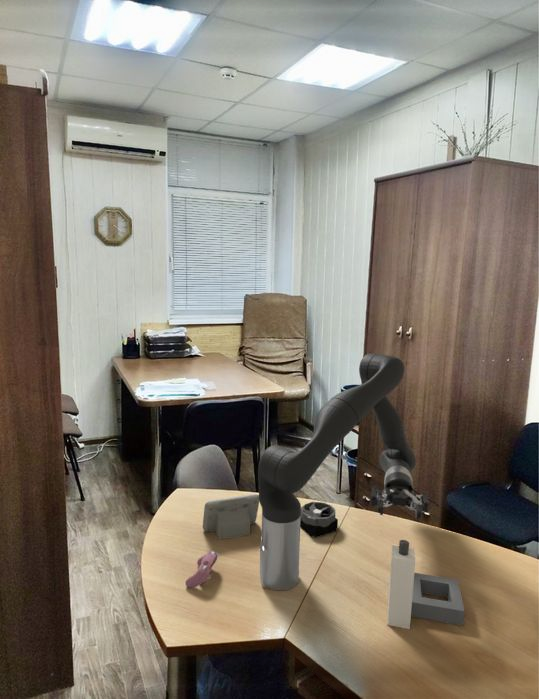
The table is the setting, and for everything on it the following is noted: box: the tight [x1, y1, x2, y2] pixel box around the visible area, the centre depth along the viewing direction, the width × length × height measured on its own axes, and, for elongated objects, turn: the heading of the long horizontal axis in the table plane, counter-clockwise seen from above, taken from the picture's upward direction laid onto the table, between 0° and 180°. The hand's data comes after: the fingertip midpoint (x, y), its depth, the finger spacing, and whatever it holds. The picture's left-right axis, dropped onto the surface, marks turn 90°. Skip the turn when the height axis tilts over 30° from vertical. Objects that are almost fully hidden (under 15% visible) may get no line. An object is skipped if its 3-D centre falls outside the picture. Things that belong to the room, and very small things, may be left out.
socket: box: [411, 572, 465, 627], centre depth 112 cm, size 11×11×4 cm
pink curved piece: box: [185, 550, 219, 589], centre depth 120 cm, size 10×5×7 cm, turn 169°
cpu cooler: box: [300, 501, 339, 539], centre depth 144 cm, size 10×6×10 cm
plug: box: [387, 539, 416, 630], centre depth 106 cm, size 5×5×18 cm
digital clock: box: [202, 493, 260, 540], centre depth 141 cm, size 16×9×11 cm, turn 98°
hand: (399, 513), depth 119 cm, fingers open, 8 cm apart
